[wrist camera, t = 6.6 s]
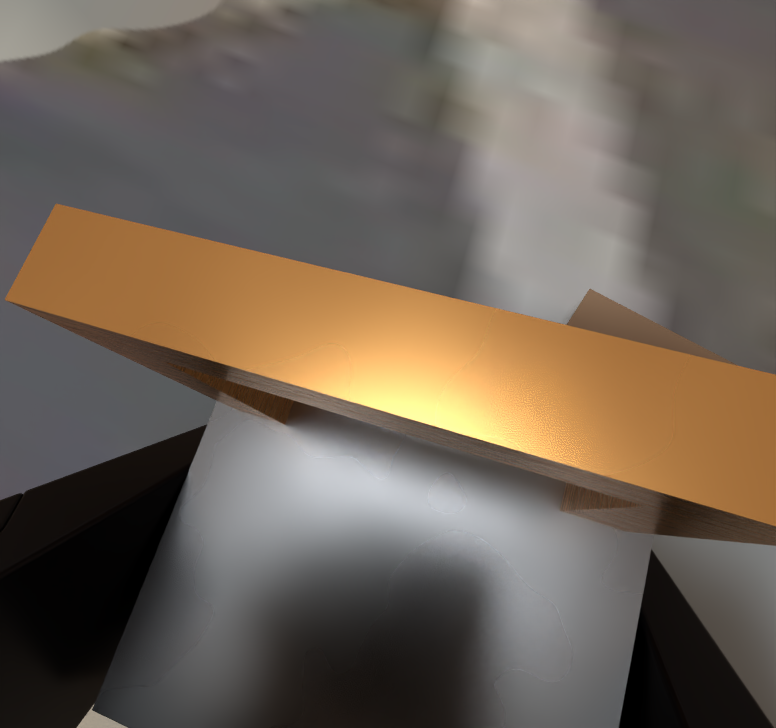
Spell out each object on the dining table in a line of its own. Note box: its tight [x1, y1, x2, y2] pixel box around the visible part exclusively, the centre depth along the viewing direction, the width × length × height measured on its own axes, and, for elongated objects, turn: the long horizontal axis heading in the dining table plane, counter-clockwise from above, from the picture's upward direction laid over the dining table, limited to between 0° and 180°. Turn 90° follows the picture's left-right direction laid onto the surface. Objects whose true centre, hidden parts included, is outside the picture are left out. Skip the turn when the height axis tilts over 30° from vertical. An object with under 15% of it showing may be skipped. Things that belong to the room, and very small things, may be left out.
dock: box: [567, 289, 776, 728], centre depth 17 cm, size 20×20×4 cm
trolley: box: [5, 204, 776, 728], centre depth 9 cm, size 6×6×12 cm
